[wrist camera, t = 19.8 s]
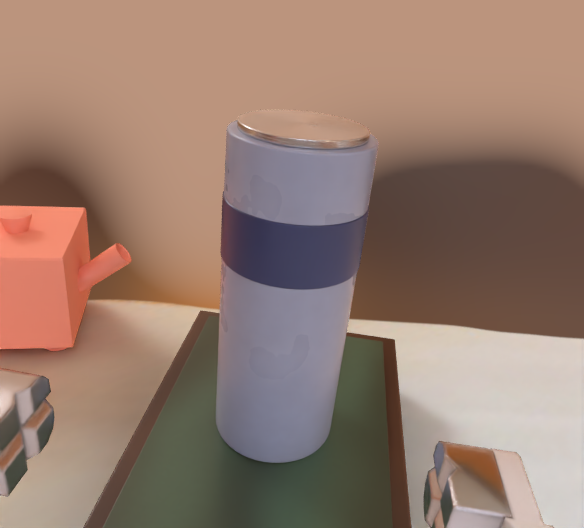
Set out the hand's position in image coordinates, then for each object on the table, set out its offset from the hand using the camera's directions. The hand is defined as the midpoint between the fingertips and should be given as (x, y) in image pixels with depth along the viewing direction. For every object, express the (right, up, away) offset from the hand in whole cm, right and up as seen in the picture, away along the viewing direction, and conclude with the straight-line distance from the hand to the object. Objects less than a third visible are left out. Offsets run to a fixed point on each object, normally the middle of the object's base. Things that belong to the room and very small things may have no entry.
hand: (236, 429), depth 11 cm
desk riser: (0, -7, +15) cm, 17 cm away
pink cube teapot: (-16, -1, +24) cm, 29 cm away
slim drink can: (0, -4, +13) cm, 14 cm away
